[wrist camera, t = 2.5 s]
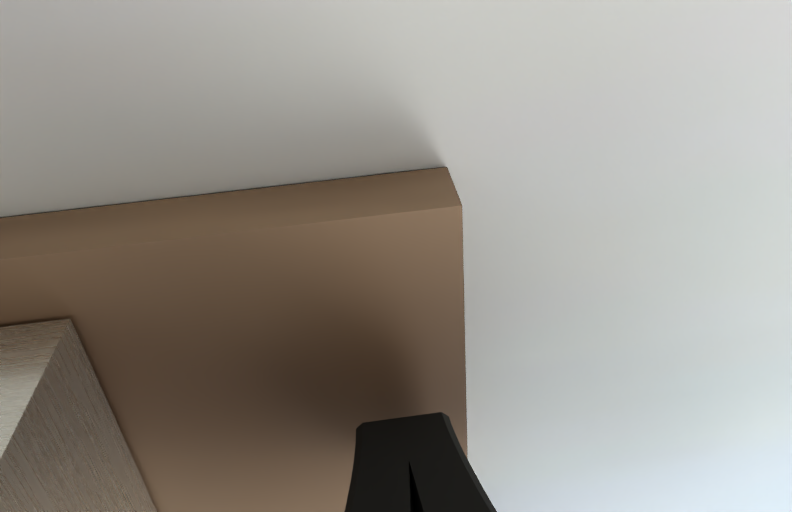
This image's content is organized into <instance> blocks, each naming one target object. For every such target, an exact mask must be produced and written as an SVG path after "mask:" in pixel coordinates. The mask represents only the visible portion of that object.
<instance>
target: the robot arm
mask: <svg viewBox="0 0 792 512" xmlns="http://www.w3.org/2000/svg"><path fill="white" fill-rule="evenodd" d="M345 512H497V511H496V510H495V508H494V506H493V505H492V503H491V501H490V500H489V498H488V496H487V494H486V493H485V491H484V489H483V488H482V486H481V484H480V482H479V480H478V478H477V476H476V475H475V473H474V471H473V469H472V467H471V465H470V463H469V461H468V459H467V457H466V455H465V453H464V451H463V449H462V447H461V445H460V443H459V441H458V438H457V436H456V434H455V431H454V429H453V427H452V424H451V421H450V418H449V416H447V415H446V414H444V413H442V412H437V413H430V414H422V415H415V416H408V417H400V418H393V419H386V420H378V421H371V422H364V423H362V424H361V425H360V426H358V427H357V428H356V443H355V454H354V463H353V470H352V476H351V482H350V487H349V492H348V497H347V502H346V507H345Z"/></svg>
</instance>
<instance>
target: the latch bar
mask: <svg viewBox="0 0 792 512" xmlns="http://www.w3.org/2000/svg"><path fill="white" fill-rule="evenodd" d="M0 512H157V511H156V509H155V506H154V504H153V502H152V500H151V497H150V495H149V493H148V491H147V489H146V486H145V484H144V482H143V480H142V477H141V475H140V473H139V471H138V468H137V466H136V464H135V462H134V460H133V457H132V455H131V453H130V451H129V448H128V446H127V444H126V442H125V440H124V437H123V435H122V433H121V431H120V428H119V426H118V424H117V422H116V420H115V417H114V415H113V413H112V411H111V408H110V406H109V404H108V402H107V399H106V397H105V395H104V393H103V391H102V388H101V386H100V384H99V382H98V379H97V377H96V375H95V373H94V371H93V368H92V366H91V364H90V362H89V359H88V357H87V355H86V353H85V350H84V348H83V346H82V344H81V342H80V339H79V337H78V335H77V333H76V330H75V328H74V326H73V324H72V322H71V319H63V320H55V321H47V322H38V323H30V324H22V325H14V326H6V327H0Z"/></svg>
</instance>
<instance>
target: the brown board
mask: <svg viewBox="0 0 792 512" xmlns="http://www.w3.org/2000/svg"><path fill="white" fill-rule="evenodd" d="M63 319H71V322H72V324H73V326H74V328H75V330H76V333H77V335H78V337H79V339H80V342H81V344H82V346H83V348H84V350H85V353H86V355H87V357H88V359H89V362H90V364H91V366H92V368H93V371H94V373H95V375H96V377H97V379H98V382H99V384H100V386H101V388H102V391H103V393H104V395H105V397H106V399H107V402H108V404H109V406H110V408H111V411H112V413H113V415H114V417H115V420H116V422H117V424H118V426H119V428H120V431H121V433H122V435H123V437H124V440H125V442H126V444H127V446H128V448H129V451H130V453H131V455H132V457H133V460H134V462H135V464H136V466H137V468H138V471H139V473H140V475H141V477H142V480H143V482H144V484H145V486H146V489H147V491H148V493H149V495H150V497H151V500H152V502H153V504H154V506H155V509H156V511H157V512H345V507H346V502H347V497H348V492H349V487H350V482H351V476H352V470H353V463H354V454H355V443H356V428H357V427H358V426H360V425H361V424H362V423H364V422H371V421H378V420H386V419H393V418H400V417H408V416H415V415H422V414H430V413H437V412H442V413H444V414H446V415H447V416H449V418H450V421H451V424H452V427H453V429H454V431H455V434H456V436H457V438H458V441H459V443H460V445H461V447H462V449H463V451H464V453H465V455H466V457H467V417H466V370H465V322H464V274H463V227H462V204H461V202H460V199H459V196H458V194H457V191H456V189H455V186H454V184H453V181H452V179H451V176H450V173H449V171H448V168H447V167H442V168H434V169H425V170H416V171H407V172H399V173H390V174H381V175H372V176H364V177H355V178H346V179H337V180H329V181H320V182H311V183H302V184H294V185H285V186H276V187H267V188H259V189H250V190H241V191H232V192H224V193H215V194H206V195H197V196H189V197H180V198H171V199H162V200H154V201H145V202H136V203H127V204H118V205H110V206H101V207H92V208H83V209H75V210H66V211H57V212H48V213H40V214H31V215H22V216H13V217H5V218H0V327H6V326H14V325H22V324H30V323H38V322H47V321H55V320H63Z"/></svg>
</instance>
